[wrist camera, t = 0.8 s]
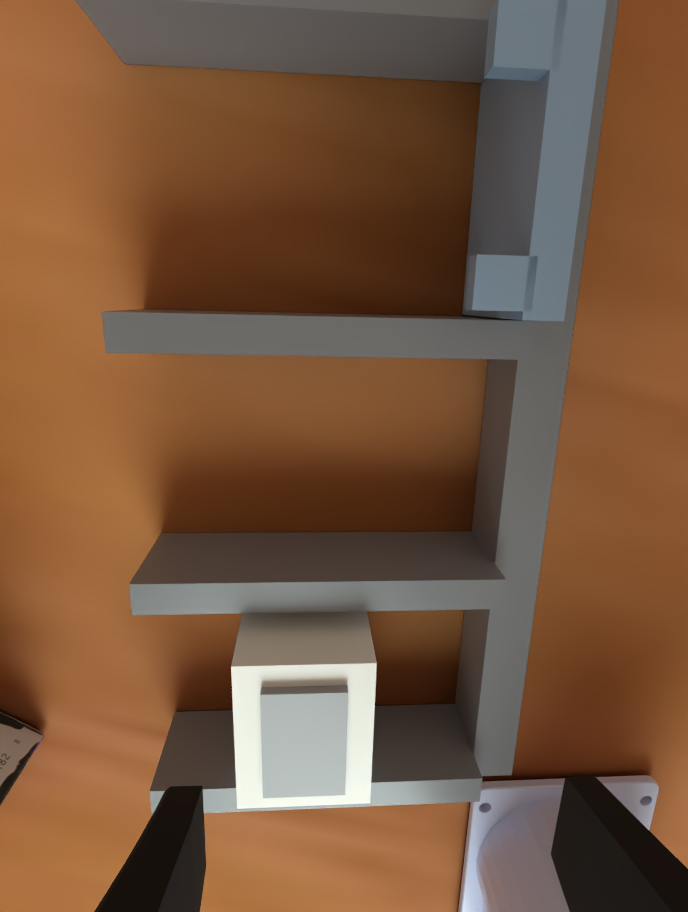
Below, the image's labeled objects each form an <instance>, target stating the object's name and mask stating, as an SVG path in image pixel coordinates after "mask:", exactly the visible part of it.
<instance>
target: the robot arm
mask: <svg viewBox="0 0 688 912" xmlns="http://www.w3.org/2000/svg"><path fill="white" fill-rule="evenodd" d="M658 791H659V786H658V784H657V783H656V782H655V780H654V779H653V778H652V777H651V776H647V775H636V776H611V777H595V776H573V777H565V778H560V779H535V780H510V781H485V782H482V787H481V795H480V802H471V804H470V813H469V821H468V830H467V839H466V848H465V857H464V865H463V874H462V883H461V892H460V901H459V909H458V912H688V869H687V868H686V867H685V866H684V865H683V864H682V863H681V862H680V861H679V860H678V859H677V858H676V857H675V856H674V855H673V854H672V853H671V852H670V851H669V850H668V849H667V848H666V847H665V846H664V845H663V844H662V843H661V842H660V841H659V840H658V839H657V838H656V837H655V836H654V835H653V834H652V833H651V832H650V831H649V829H650V825H651V821H652V817H653V812H654V808H655V804H656V800H657V796H658ZM483 803H484V804H483ZM205 870H206V854H205V830H204V807H203V786H170V787H169V788H168V789H167V790H166V791H165V792H164V794H163V796H162V798H161V800H160V802H159V804H158V805H157V807H156V809H155V811H154V813H153V815H152V817H151V819H150V820H149V822H148V824H147V826H146V828H145V830H144V831H143V833H142V835H141V837H140V838H139V840H138V842H137V843H136V845H135V847H134V849H133V850H132V852H131V854H130V855H129V857H128V859H127V860H126V862H125V864H124V865H123V867H122V869H121V870H120V872H119V873H118V875H117V877H116V878H115V880H114V881H113V883H112V885H111V886H110V888H109V889H108V891H107V893H106V894H105V896H104V897H103V899H102V901H101V902H100V904H99V905H98V907H97V908H96V910H95V912H200V905H201V898H202V891H203V884H204V877H205Z"/></svg>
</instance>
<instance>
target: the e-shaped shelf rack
mask: <svg viewBox="0 0 688 912" xmlns="http://www.w3.org/2000/svg"><path fill="white" fill-rule="evenodd" d="M75 1H76V2H77V3H78V5H79V6H80V7H81V9H82V10H83V11H84V12H85V14H86V15H87V16H88V18H89V19H90V20H91V21H92V23H93V24H94V25H95V27H96V28H97V29H98V31H99V32H100V33H101V34H102V36H103V37H104V38H105V40H106V41H107V42H108V43H109V45H110V46H111V47H112V49H113V50H114V51H115V52H116V54H117V55H118V56H119V58H120V59H121V60H122V62H123V63H124V64H135V65H153V66H172V67H191V68H210V69H228V70H247V71H266V72H285V73H303V74H322V75H341V76H360V77H378V78H397V79H416V80H435V81H453V82H472V83H482V84H481V91H480V103H479V115H478V127H477V140H476V152H475V164H474V176H473V189H472V201H471V213H470V225H469V238H468V250H467V262H466V274H465V287H464V299H463V311H462V315H470V316H481V317H468V316H423V315H378V314H333V313H288V312H243V311H198V310H153V309H140V310H122V311H104V312H102V318H103V328H104V338H105V348H106V353H145V354H205V355H265V356H326V357H386V358H446V359H488V369H487V379H486V389H485V400H484V410H483V420H482V431H481V441H480V451H479V462H478V472H477V482H476V493H475V503H474V513H473V524H472V531H418V532H259V533H161V534H160V536H159V537H158V539H157V540H156V542H155V544H154V545H153V547H152V548H151V550H150V552H149V553H148V555H147V556H146V558H145V560H144V561H143V563H142V564H141V566H140V568H139V569H138V571H137V572H136V574H135V576H134V577H133V579H132V580H131V582H130V584H129V590H130V600H131V610H132V615H175V614H235V613H294V612H354V611H414V610H464V616H463V627H462V637H461V647H460V658H459V668H458V678H457V689H456V699H455V704H425V705H391V706H375V712H374V733H373V754H372V776H371V797H370V803H366V804H342V805H318V806H294V807H269V808H245V809H237V795H236V771H235V748H234V724H233V710H219V711H185V712H175V714H174V717H173V720H172V723H171V726H170V729H169V732H168V736H167V739H166V742H165V745H164V748H163V751H162V754H161V757H160V760H159V764H158V767H157V770H156V773H155V776H154V779H153V782H152V785H151V789H150V801H151V811H152V815H153V813H154V811H155V809H156V807H157V805H158V804H159V802H160V800H161V798H162V796H163V794H164V792H165V791H166V790H167V789H168V788H169V787H170V786H203V807H204V813H220V812H244V811H268V810H291V809H315V808H339V807H362V806H386V805H410V804H433V803H457V802H480V795H481V787H482V776H501V775H512V769H513V762H514V755H515V748H516V740H517V733H518V726H519V719H520V712H521V704H522V697H523V690H524V683H525V675H526V668H527V661H528V654H529V647H530V639H531V632H532V625H533V618H534V610H535V603H536V596H537V589H538V582H539V574H540V567H541V560H542V553H543V545H544V538H545V531H546V524H547V517H548V509H549V502H550V495H551V488H552V480H553V473H554V466H555V459H556V452H557V444H558V437H559V430H560V423H561V415H562V408H563V401H564V394H565V387H566V379H567V372H568V365H569V358H570V350H571V343H572V336H573V329H574V322H575V314H576V307H577V300H578V293H579V285H580V278H581V271H582V264H583V257H584V249H585V242H586V235H587V228H588V220H589V213H590V206H591V199H592V192H593V184H594V177H595V170H596V163H597V155H598V148H599V141H600V134H601V127H602V119H603V112H604V105H605V98H606V90H607V83H608V76H609V69H610V62H611V54H612V47H613V40H614V33H615V25H616V18H617V11H618V4H619V0H75Z"/></svg>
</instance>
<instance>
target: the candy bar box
mask: <svg viewBox="0 0 688 912" xmlns="http://www.w3.org/2000/svg"><path fill="white" fill-rule="evenodd" d="M43 738H44V735H43V733H42V732H40V731H38V730H37V729H35V728H33V727H31V726H29V725H27V724H25V723H23V722H21V721H19V720H17V719H15V718H13V717H11V716H9V715H6V714H4V713H2V712H0V805H1V804H2V802H3V800H4V799H5V797H6V795H7V794H8V792H9V791H10V789H11V787H12V786H13V784H14V783H15V781H16V779H17V778H18V776H19V775H20V773H21V771H22V770H23V768H24V766H25V765H26V763H27V762H28V760H29V758H30V757H31V755H32V754H33V752H34V751H35V750H36V748H37V747H38V745H39V744H40V742H41V741H42V740H43Z"/></svg>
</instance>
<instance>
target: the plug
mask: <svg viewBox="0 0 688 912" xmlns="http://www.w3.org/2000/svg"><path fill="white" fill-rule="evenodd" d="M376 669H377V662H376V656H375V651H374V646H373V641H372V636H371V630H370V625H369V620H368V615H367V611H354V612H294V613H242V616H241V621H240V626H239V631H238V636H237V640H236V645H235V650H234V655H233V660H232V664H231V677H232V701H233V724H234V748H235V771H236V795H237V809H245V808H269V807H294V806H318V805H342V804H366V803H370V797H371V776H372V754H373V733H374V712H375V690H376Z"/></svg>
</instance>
